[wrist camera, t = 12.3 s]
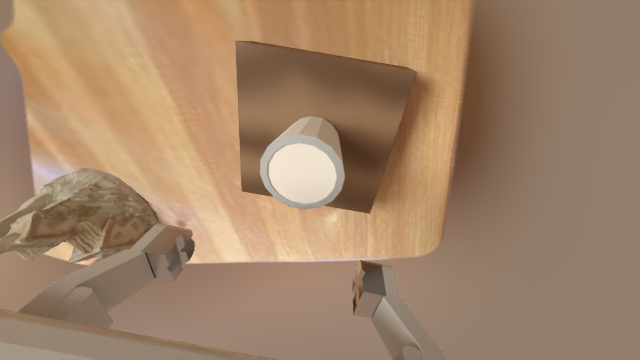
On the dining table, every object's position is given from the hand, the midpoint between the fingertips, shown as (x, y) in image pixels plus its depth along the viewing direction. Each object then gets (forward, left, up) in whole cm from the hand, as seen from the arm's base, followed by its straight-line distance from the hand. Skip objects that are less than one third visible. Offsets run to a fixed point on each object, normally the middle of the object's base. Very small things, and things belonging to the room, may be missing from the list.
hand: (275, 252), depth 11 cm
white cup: (0, 0, -15) cm, 15 cm away
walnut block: (0, 0, -20) cm, 20 cm away
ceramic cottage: (+21, -33, -20) cm, 44 cm away
